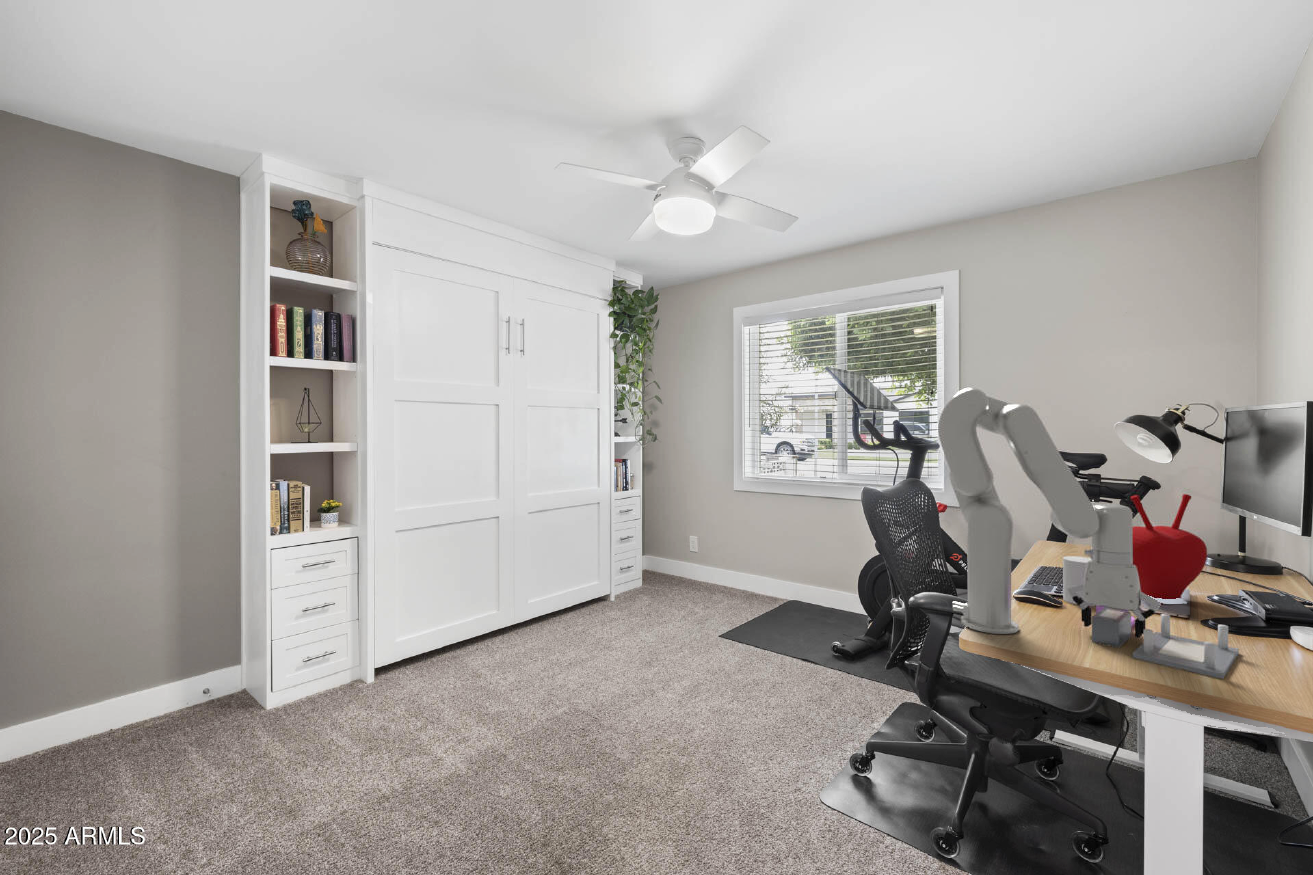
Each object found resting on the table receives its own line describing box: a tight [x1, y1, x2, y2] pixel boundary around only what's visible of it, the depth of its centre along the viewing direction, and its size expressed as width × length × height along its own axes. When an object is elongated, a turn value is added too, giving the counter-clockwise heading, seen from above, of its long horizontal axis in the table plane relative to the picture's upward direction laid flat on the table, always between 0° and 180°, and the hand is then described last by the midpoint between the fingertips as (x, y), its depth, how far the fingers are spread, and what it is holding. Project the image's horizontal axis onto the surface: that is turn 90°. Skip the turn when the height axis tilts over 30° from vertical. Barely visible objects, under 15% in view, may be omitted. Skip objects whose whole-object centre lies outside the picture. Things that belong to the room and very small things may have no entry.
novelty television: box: [1130, 493, 1208, 599], centre depth 165 cm, size 21×13×30 cm, turn 94°
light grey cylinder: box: [1062, 555, 1096, 607], centre depth 165 cm, size 8×8×12 cm
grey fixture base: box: [1132, 613, 1240, 680], centre depth 125 cm, size 14×20×6 cm
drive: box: [1091, 607, 1132, 649], centre depth 136 cm, size 5×11×6 cm, turn 130°
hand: (1112, 630), depth 136 cm, fingers open, 9 cm apart
